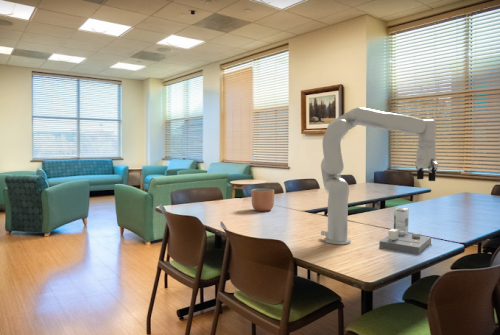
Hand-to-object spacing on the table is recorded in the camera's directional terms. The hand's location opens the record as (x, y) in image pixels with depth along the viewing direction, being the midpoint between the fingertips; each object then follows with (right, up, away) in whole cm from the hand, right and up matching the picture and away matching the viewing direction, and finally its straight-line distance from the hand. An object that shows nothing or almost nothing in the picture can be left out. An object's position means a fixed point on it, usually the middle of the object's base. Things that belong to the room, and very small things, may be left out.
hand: (425, 180), depth 176 cm
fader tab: (-19, -27, -7) cm, 34 cm away
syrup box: (-7, -30, +12) cm, 33 cm away
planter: (-77, -26, +90) cm, 121 cm away
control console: (-13, -31, -6) cm, 34 cm away
